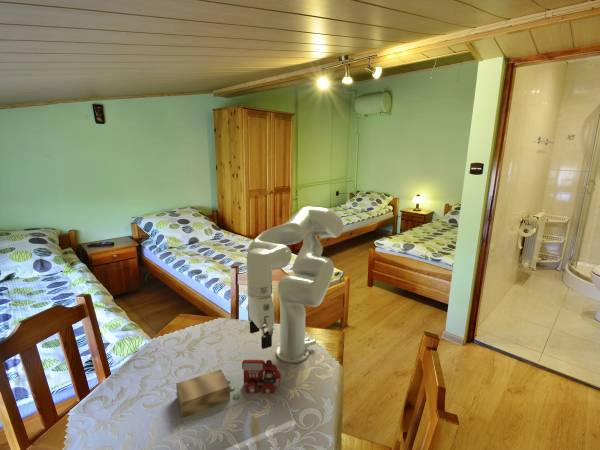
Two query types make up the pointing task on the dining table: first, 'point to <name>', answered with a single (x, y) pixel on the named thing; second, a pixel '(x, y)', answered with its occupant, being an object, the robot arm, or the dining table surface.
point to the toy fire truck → (260, 376)
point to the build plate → (234, 400)
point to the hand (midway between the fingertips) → (260, 339)
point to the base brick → (202, 392)
